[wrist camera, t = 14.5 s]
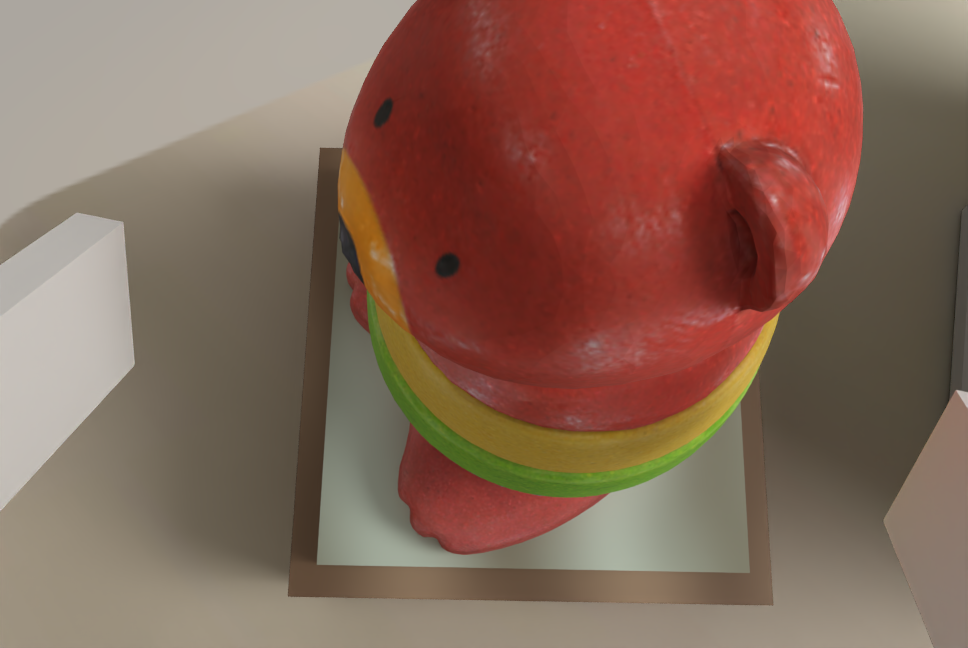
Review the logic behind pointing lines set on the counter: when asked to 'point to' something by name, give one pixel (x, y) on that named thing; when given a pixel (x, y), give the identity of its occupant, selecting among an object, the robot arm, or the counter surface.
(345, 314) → the plinth
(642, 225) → the stacking bear
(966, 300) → the toy computer monitor
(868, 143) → the counter surface
